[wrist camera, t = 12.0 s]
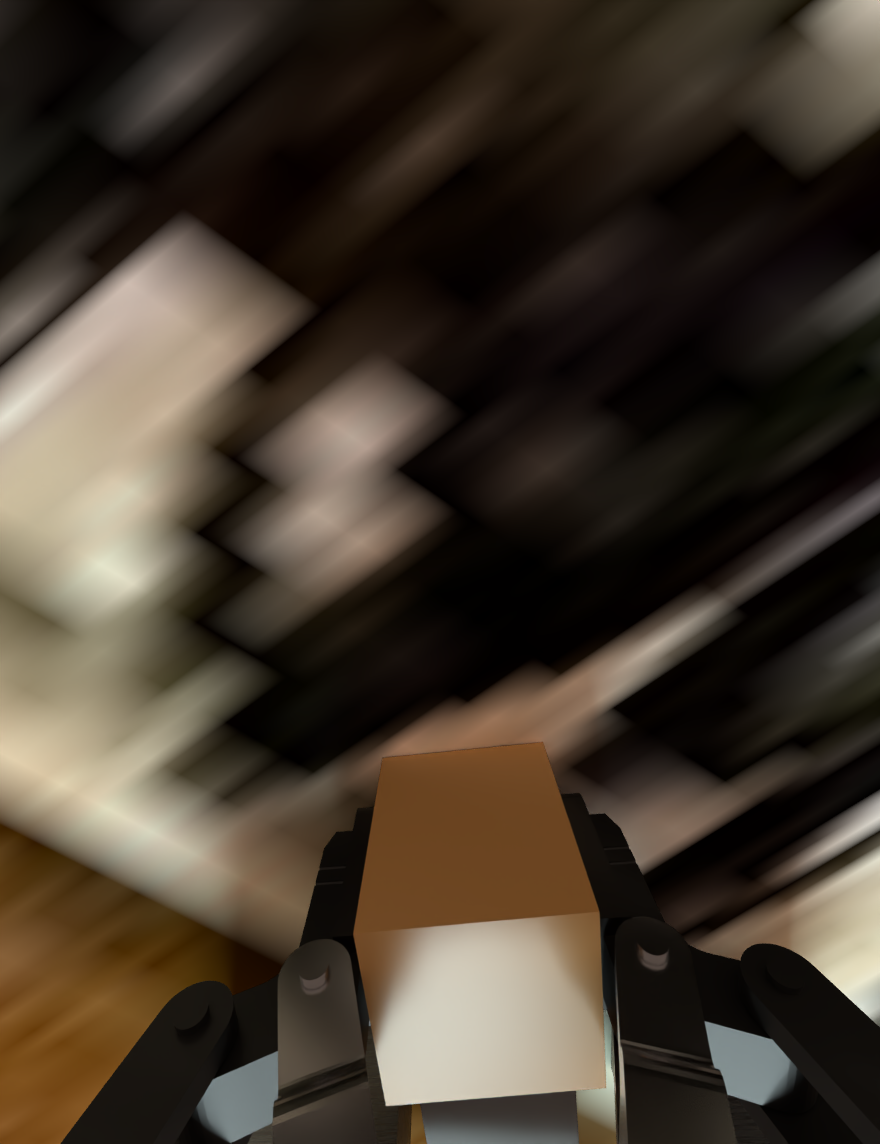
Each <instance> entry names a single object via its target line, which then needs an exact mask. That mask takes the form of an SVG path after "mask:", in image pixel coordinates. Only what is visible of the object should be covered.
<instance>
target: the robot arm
mask: <svg viewBox="0 0 880 1144" xmlns="http://www.w3.org/2000/svg"><path fill="white" fill-rule="evenodd" d="M560 795H561V798H562V801H563V804H564V807H565V810H566V813H567V816H568V819H569V822H570V825H571V828H572V831H573V834H574V837H575V840H576V843H577V846H578V849H579V852H580V855H581V858H582V861H583V864H584V867H585V870H586V873H587V876H588V879H589V882H590V885H591V888H592V891H593V894H594V897H595V900H596V903H597V906H598V909H599V912H600V938H601V964H602V990H603V1010H607V1011H608V1014H609V1018H610V1021H611V1024H612V1028H613V1068H614V1091H615V1115H616V1139H617V1144H738V1143H737V1138H736V1134H735V1129H734V1124H733V1119H732V1114H731V1110H730V1105H729V1100H728V1095H730V1096H734V1097H737V1098H738V1100H739V1101H740V1103H741V1104H742V1106H743V1107H744V1109H745V1110H746V1111H747V1113H748V1114H749V1115H750V1117H751V1118H752V1120H753V1121H754V1122H755V1124H756V1125H757V1126H758V1128H759V1129H760V1130H761V1132H762V1133H763V1134H764V1136H765V1137H766V1138H767V1140H768V1141H769V1142H770V1144H880V1027H879V1026H878V1025H877V1024H875V1023H874V1022H873V1021H872V1020H871V1019H870V1018H869V1017H868V1016H867V1015H866V1014H865V1013H864V1012H863V1011H861V1010H860V1009H859V1008H858V1007H857V1006H856V1005H855V1004H854V1003H853V1002H852V1001H851V1000H850V999H849V998H848V997H846V996H845V995H844V994H843V993H842V992H841V991H840V990H839V989H838V988H837V987H836V986H835V985H834V984H833V983H831V982H830V981H829V980H828V979H827V978H826V977H825V976H824V975H823V974H822V973H821V972H820V971H819V970H817V969H816V968H815V967H814V966H813V965H812V964H811V963H810V962H808V961H807V960H806V959H805V958H803V957H802V956H800V955H799V954H797V953H795V952H793V951H791V950H789V949H787V948H784V947H781V946H778V945H773V944H756V945H753V946H751V947H749V948H747V949H746V950H745V951H744V952H743V954H742V956H741V961H739V960H735V959H731V958H727V957H722V956H718V955H714V954H710V953H706V952H703V951H701V950H698V949H696V948H694V947H692V946H690V945H688V944H687V942H686V941H685V940H684V938H683V937H682V936H681V935H680V934H679V932H677V931H676V930H675V929H674V928H673V927H671V926H670V925H668V924H666V923H665V921H664V919H663V917H662V915H661V913H660V911H659V909H658V907H657V905H656V903H655V901H654V898H653V896H652V894H651V892H650V890H649V888H648V886H647V884H646V882H645V879H644V877H643V875H642V873H641V871H640V869H639V867H638V865H637V864H636V862H635V858H634V856H633V854H632V852H631V850H630V849H629V846H628V844H627V841H626V839H625V837H624V835H623V833H622V831H621V829H620V827H619V826H617V825H616V824H615V823H614V822H613V821H612V820H611V819H610V818H609V817H608V816H607V815H606V814H605V813H604V814H590V815H589V813H588V810H587V808H586V805H585V803H584V800H583V798H582V796H581V794H580V793H573V794H560ZM373 812H374V807H370V808H358V809H357V812H356V817H355V822H354V828H353V831H344V832H336V833H335V835H334V836H333V837H332V839H331V840H330V841H329V843H328V844H327V845H326V847H325V848H324V851H323V855H322V859H321V863H320V870H319V871H318V875H317V879H316V886H315V887H314V891H313V895H312V899H311V903H310V907H309V911H308V915H307V919H306V923H305V927H304V931H303V935H302V938H301V942H300V945H299V948H298V949H296V950H295V951H294V952H293V953H292V954H291V955H290V956H289V957H288V958H287V960H286V961H285V963H284V964H283V966H282V968H281V970H280V973H279V974H278V975H277V976H275V977H274V978H272V979H271V980H269V981H267V982H265V983H263V984H261V985H259V986H256V987H253V988H251V989H248V990H246V991H243V992H241V993H238V994H236V995H233V996H232V993H231V991H230V990H229V988H228V987H227V986H225V985H224V984H222V983H220V982H217V981H204V982H199V983H196V984H193V985H191V986H189V987H187V988H185V989H184V990H182V991H181V992H179V993H178V994H177V995H175V996H174V997H173V998H172V999H171V1000H170V1001H169V1002H168V1003H167V1004H166V1005H165V1006H164V1007H163V1009H162V1010H161V1011H160V1013H159V1014H158V1015H157V1016H156V1018H155V1019H154V1020H153V1022H152V1023H151V1024H150V1026H149V1027H148V1028H147V1030H146V1031H145V1032H144V1034H143V1035H142V1036H141V1038H140V1039H139V1040H138V1042H137V1043H136V1044H135V1046H134V1047H133V1048H132V1050H131V1051H130V1052H129V1054H128V1055H127V1056H126V1058H125V1059H124V1060H123V1062H122V1063H121V1064H120V1065H119V1067H118V1068H117V1069H116V1071H115V1072H114V1073H113V1075H112V1076H111V1077H110V1079H109V1080H108V1081H107V1083H106V1084H105V1085H104V1087H103V1088H102V1089H101V1091H100V1092H99V1093H98V1095H97V1096H96V1097H95V1099H94V1100H93V1101H92V1103H91V1104H90V1105H89V1107H88V1108H87V1109H86V1111H85V1112H84V1113H83V1114H82V1116H81V1117H80V1118H79V1120H78V1121H77V1122H76V1124H75V1125H74V1126H73V1128H72V1129H71V1130H70V1132H69V1133H68V1134H67V1136H66V1137H65V1138H64V1140H63V1141H62V1142H61V1144H248V1142H249V1140H250V1138H251V1135H252V1133H253V1132H255V1131H257V1130H259V1129H261V1128H263V1127H265V1126H267V1125H270V1124H272V1144H378V1143H377V1136H376V1130H375V1123H374V1116H373V1109H372V1102H371V1095H370V1089H369V1082H368V1075H367V1068H366V1061H365V1056H366V1049H367V1039H368V1030H369V1026H371V1024H370V1019H369V1014H368V1008H367V1003H366V998H365V993H364V987H363V982H362V977H361V972H360V966H359V961H358V956H357V951H356V946H355V940H354V935H353V932H354V926H355V920H356V914H357V908H358V902H359V896H360V890H361V884H362V878H363V872H364V866H365V860H366V854H367V848H368V842H369V836H370V830H371V824H372V818H373Z"/></svg>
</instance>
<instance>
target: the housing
mask: <svg viewBox="0 0 880 1144" xmlns="http://www.w3.org/2000/svg"><path fill="white" fill-rule="evenodd" d="M365 1061H366V1068H367V1075H368V1082H369V1089H370V1095H371V1102H372V1109H373V1116H374V1123H375V1130H376V1136H377V1143H378V1144H410V1139H411V1113H412V1104H406V1105H394V1106H386V1103H385V1098H384V1092H383V1087H382V1082H381V1077H380V1071H379V1066H378V1061H377V1056H376V1050H375V1045H374V1040H373V1035H372V1029H371V1026H369V1030H368V1039H367V1049H366V1056H365ZM611 1068H612V1072H613V1076H614V1068H613V1028H612V1061H611ZM728 1100H729V1105H730V1110H731V1114H732V1119H733V1124H734V1129H735V1134H736V1138H737V1143H738V1144H770V1142H769V1141H768V1140H767V1138H766V1137H765V1136H764V1134H763V1133H762V1132H761V1130H760V1129H759V1128H758V1126H757V1125H756V1124H755V1122H754V1121H753V1120H752V1118H751V1117H750V1115H749V1114H748V1113H747V1111H746V1110H745V1109H744V1107H743V1106H742V1104H741V1103H740V1101H739V1100H738V1098H737V1097H734V1096H730V1095H728ZM248 1144H272V1124H270V1125H267V1126H265V1127H263V1128H261V1129H259V1130H257V1131H255V1132H253V1133H252V1135H251V1138H250V1140H249V1142H248Z"/></svg>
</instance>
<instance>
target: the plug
mask: <svg viewBox="0 0 880 1144" xmlns="http://www.w3.org/2000/svg"><path fill="white" fill-rule="evenodd" d="M353 935H354V940H355V946H356V951H357V956H358V961H359V966H360V972H361V977H362V982H363V987H364V993H365V998H366V1003H367V1008H368V1014H369V1019H370V1024H371V1029H372V1035H373V1040H374V1045H375V1050H376V1056H377V1061H378V1066H379V1071H380V1077H381V1082H382V1087H383V1092H384V1098H385V1103H386V1106H394V1105H406V1104H418V1103H420V1105H421V1111H422V1117H423V1123H424V1129H425V1135H426V1141H427V1144H579V1138H578V1121H577V1104H576V1091H577V1090H589V1089H601V1088H606V1070H605V1043H604V1017H603V990H602V964H601V938H600V912H599V909H598V906H597V903H596V900H595V897H594V894H593V891H592V888H591V885H590V882H589V879H588V876H587V873H586V870H585V867H584V864H583V861H582V858H581V855H580V852H579V849H578V846H577V843H576V840H575V837H574V834H573V831H572V828H571V825H570V822H569V819H568V816H567V813H566V810H565V807H564V804H563V801H562V798H561V795H560V792H559V789H558V786H557V783H556V780H555V777H554V774H553V771H552V768H551V765H550V762H549V759H548V756H547V753H546V750H545V747H544V744H543V742H541V743H530V744H520V745H510V746H500V747H489V748H479V749H469V750H459V751H448V752H438V753H428V754H418V755H407V756H397V757H387V758H382V764H381V770H380V776H379V782H378V788H377V794H376V800H375V806H374V812H373V818H372V824H371V830H370V836H369V842H368V848H367V854H366V860H365V866H364V872H363V878H362V884H361V890H360V896H359V902H358V908H357V914H356V920H355V926H354V932H353Z"/></svg>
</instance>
